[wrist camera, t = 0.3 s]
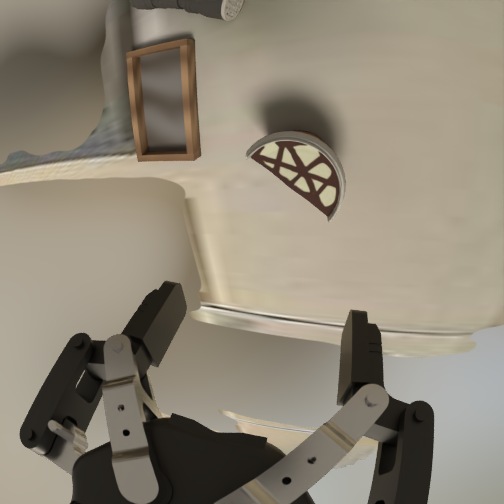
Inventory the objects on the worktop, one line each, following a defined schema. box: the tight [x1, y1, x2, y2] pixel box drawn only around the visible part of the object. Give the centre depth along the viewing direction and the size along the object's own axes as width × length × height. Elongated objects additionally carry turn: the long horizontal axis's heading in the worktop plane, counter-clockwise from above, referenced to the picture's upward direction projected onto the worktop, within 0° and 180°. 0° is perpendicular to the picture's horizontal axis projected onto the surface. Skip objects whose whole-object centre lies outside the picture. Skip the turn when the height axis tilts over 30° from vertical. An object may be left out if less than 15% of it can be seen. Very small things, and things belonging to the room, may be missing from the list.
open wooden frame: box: [127, 38, 201, 162], centre depth 34 cm, size 18×10×2 cm, turn 1°
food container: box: [246, 130, 346, 222], centre depth 31 cm, size 12×6×10 cm, turn 56°
